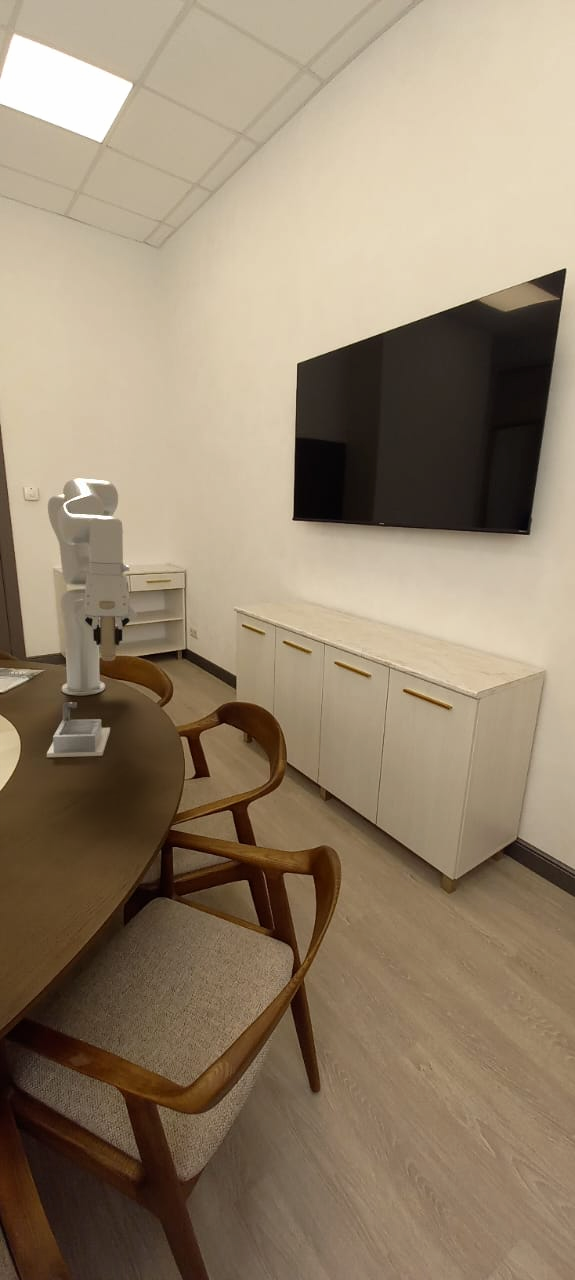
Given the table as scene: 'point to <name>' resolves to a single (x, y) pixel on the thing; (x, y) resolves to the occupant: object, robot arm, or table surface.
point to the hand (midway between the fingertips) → (108, 643)
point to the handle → (107, 633)
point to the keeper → (78, 736)
